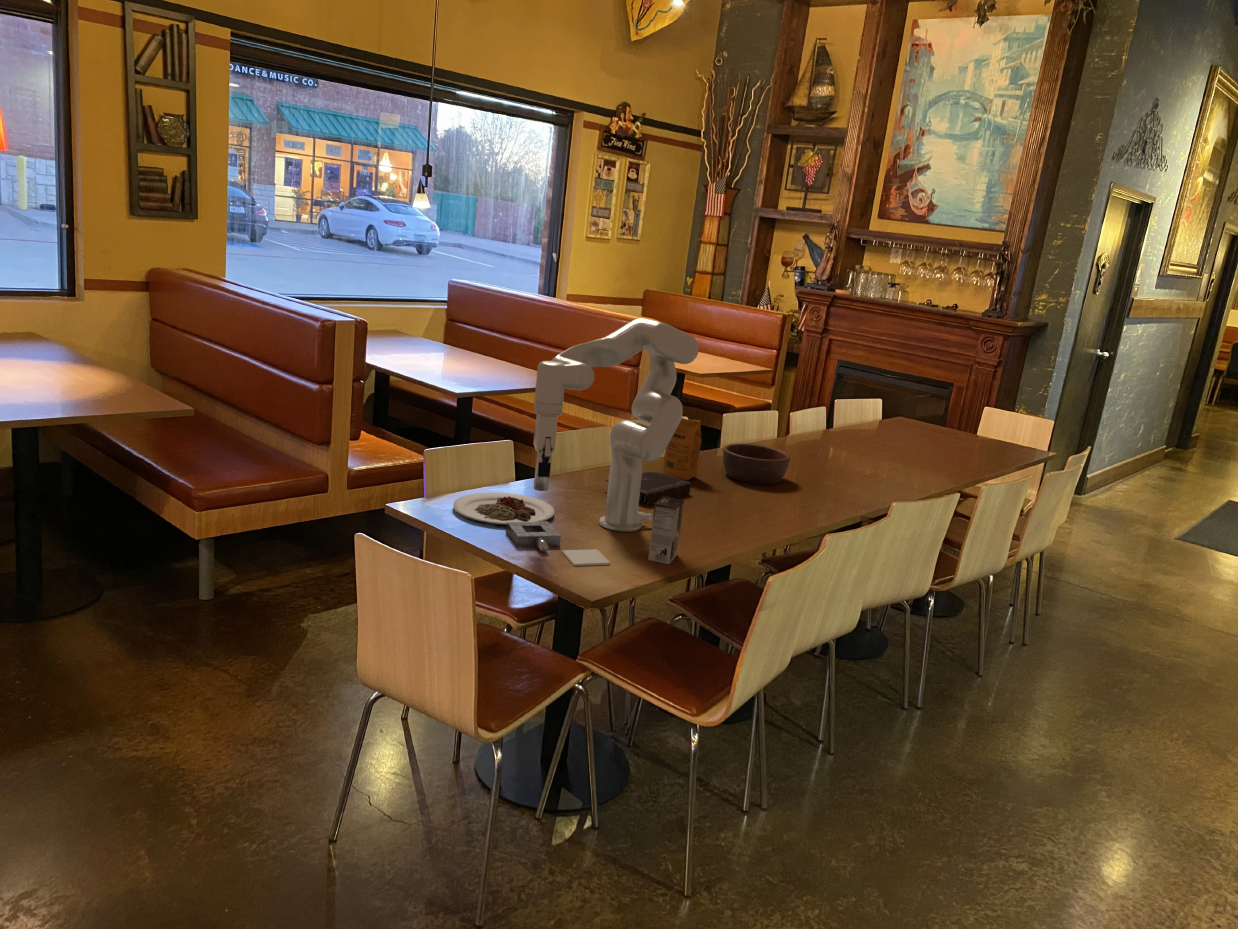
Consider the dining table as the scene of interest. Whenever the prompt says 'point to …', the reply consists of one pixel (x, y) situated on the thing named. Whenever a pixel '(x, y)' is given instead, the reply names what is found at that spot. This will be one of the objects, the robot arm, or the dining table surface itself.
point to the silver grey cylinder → (541, 482)
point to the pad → (585, 557)
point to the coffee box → (666, 529)
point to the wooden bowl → (755, 463)
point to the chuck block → (533, 534)
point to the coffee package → (683, 450)
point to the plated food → (503, 508)
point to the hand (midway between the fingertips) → (542, 473)
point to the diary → (660, 487)
